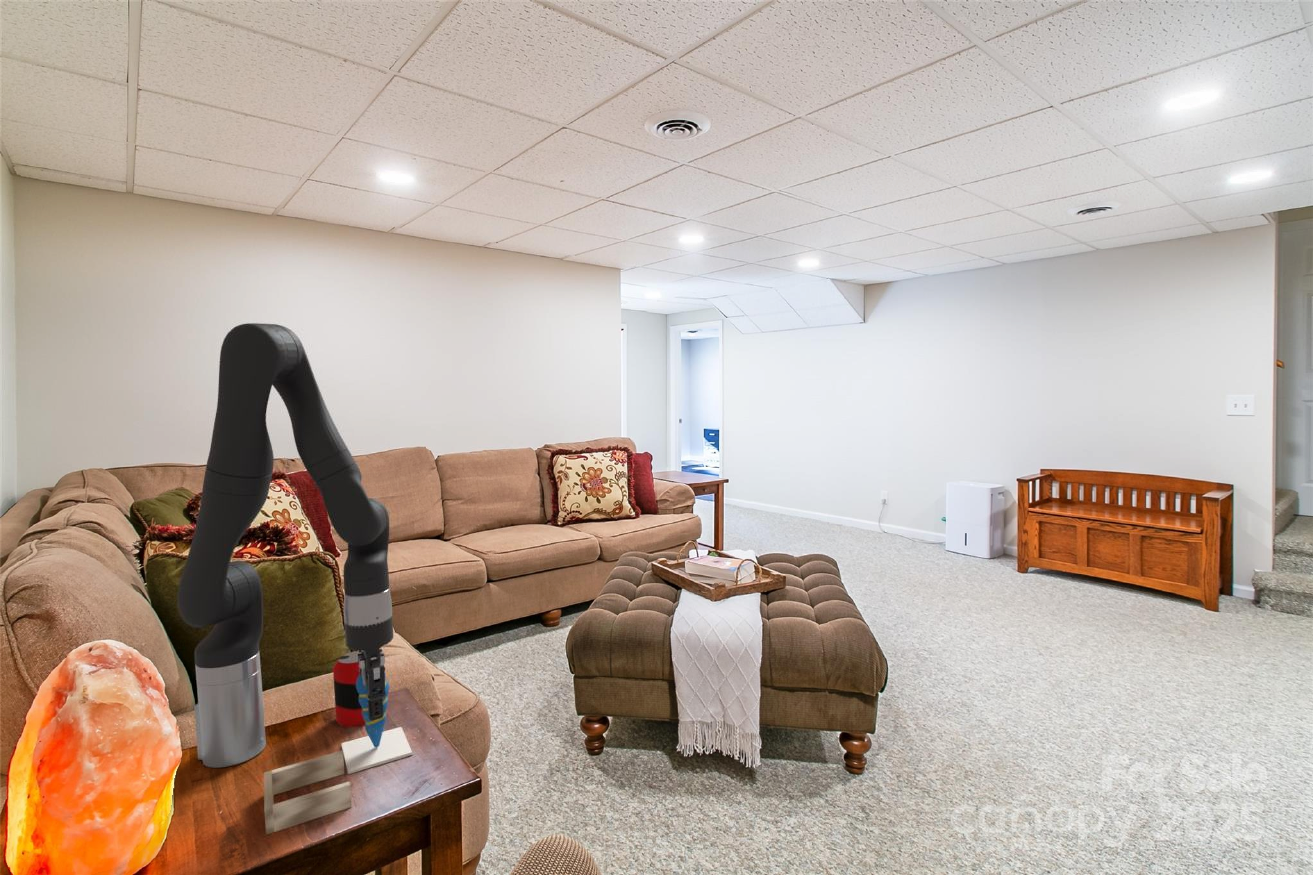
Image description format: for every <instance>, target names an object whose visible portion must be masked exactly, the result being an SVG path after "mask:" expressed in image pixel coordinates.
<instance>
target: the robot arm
mask: <svg viewBox="0 0 1313 875" xmlns="http://www.w3.org/2000/svg"><path fill="white" fill-rule="evenodd" d="M218 364H219V366H218V370H219V371H218V385H217V386H218V387H217V388H218V390H217V392H218V393H217V402H216V403H217V404H216V411H215V417H214V423H213V429H212V436H211V442H210V449H209V452H208V456H207V457H208V458H207V460H206V465H205V466H206V467H205V470H204V477H203V484H202V490H201V497H200V503H199V510H198V515H197V519H196V522H195V528H194V532H193V537H192V541H191V544H190V548H189V552H188V554H187V557H186V561H185V563H184V567H183V569H182V570H183V571H182V574H181V576H180V581H179V584H178V587H177V588H178V589H177V596H176V597H177V598H176V599H177V600H176V601H177V603H176V604H177V609H178V612H179V616H180V617H181V618H182V620H183V621H184V622H185V624H187V625H189V626H190V627H193V628H206V627H207V628H208V627H211V626H213V625H214V627H213V629H212V630H211V631H210V632H209V633H208V634H207V635H206V636H205V637H204V638H203V639H202V640H201V641H199V643H198V644H197V645H196V647H195V649H194V665H195V666H194V667H195V677H196V678H195V680H196V689H197V690H196V691H197V703H196V704H195V705H194V709H193V710H194V711H193V712H194V720H195V721H194V723H195V725H194V726H195V735H196V749H197V760H201V761H202V764H203V765H204V766H206V767H208V768H213V769H214V768H226V767H227V768H228V767H231V766H235V765H239V764H242V763H244V762H247V761H248V760H251V759H253V758H254V757H256V756H257V755H259V754H260V753H262V751H264V749H265V747H266V745H267V743H266V742H267V741H266V726H265V711H264V710H265V709H264V696H263V682H262V671H261V668H262V666H261V659H260V658H261V656H260V654H261V653H260V642H261V639H262V636H263V630H264V616H263V615H264V614H263V613H264V612H263V610H264V603H263V602H264V601H263V600H264V598H263V595H264V594H263V585H262V581H261V578H260V575H259V573H258V572H257V570H256V569H255V567H254V566H253V565H252V564H250V563H248V562H246V561H243V560H242V561H241V560H235V561H231V560H232V557H233V554H234V551H235V549H236V547H237V545H238V543H239V542H240V540H241V538H243V536H244V534H245V533H246V531H248V529H249V527H251V525H252V523H253V522H254V521H255V519H256V518H257V516H258V515H259V514H260V512H261V510H262V509H263V507H264V505H265V504H266V501H267V498H268V497H269V496H268V495H269V492H270V489H271V488H270V486H271V482H272V477H273V471H274V464H275V458H274V451H273V447H272V445H273V444H272V442H271V439H270V438H271V437H270V434H269V432H268V427H267V410H268V409H267V408H268V404H269V399H270V394H271V390H272V386H273V388H274V389H275V390H276V391H277V393H278V395H279V396H280V397H281V398H280V399H281V400H282V402H283V403H284V405H285V407H286V409H287V413H288V415H289V419H290V423H291V427H292V433H293V434H292V435H293V437H294V438H293V440H294V443H295V446H296V450H297V451H296V452H297V453H298V456H299V458H300V460H301V462H302V464H303V466H304V468H305V469H306V471H307V473H308V475H309V476H310V478H311V480H312V481H313V483H314V485H315V486H316V489H318V491H319V493H320V495H321V498H322V501H323V504H324V505H323V506H324V507H325V511H326V513H327V515H328V516H327V517H328V519H329V520H330V523H331V524H332V527H333V529H334V531H335V533H336V534H337V535H338V537H340V539H341V540H342V541H343V542H345V543H347V556H346V559H345V562H344V565H343V572H342V573H343V590H344V591H343V592H344V593H343V594H344V597H343V598H344V599H343V622H344V638H345V640H344V641H345V646H346V647H347V648H348V649H349V650H351V651H359V653H358V654H357V661H358V664H359V674H361V673H362V682H363V685H364V686H366V689H367V695H366V698H367V699H368V712H369V719H370V720H371V721H373V720H377V719H381V718H382V717H383V697H385V695H386V692H385V675H386V672H385V671H386V667H385V664H386V659H385V658H386V656H385V652H384V653H383V648H382V647H383V646H386V645H388V644H389V643H391V642H392V640H394V622H393V604H392V603H393V602H392V595H391V591H390V577H389V576H390V575H389V573H390V572H389V565H388V551H389V543H390V542H389V540H390V516H389V512H388V510H387V508H386V506H385V505H384V504H383V503H382V502H381V501H380V500H378V499H376V498H371V497H369V496H368V494H367V492H366V490H365V488H364V487H363V485H362V476H363V475H362V473H361V470H360V468H359V466H358V464H357V461H356V460H355V459H354V457H353V454H352V453H351V452H350V450H349V448H348V446H347V445H346V443H345V441H344V439H343V438H342V436H341V434H340V432H339V431H338V428H337V427H336V424H335V423H334V420H333V418H332V416H331V414H330V411H329V409H328V408H327V405H326V403H325V400H324V396H322V393H321V390H320V388H319V385H318V383H317V379H316V378H315V375H314V372H313V370H312V366H311V363H310V360H309V358H308V356H307V352H306V351H305V347H304V346H303V343H302V341H301V340H300V338H299V337H298V335H297V334H296V333H295V332H294V331H293V330H292V329H290V328H288V327H287V326H284V325H280V324H276V323H259V322H258V323H255V322H254V323H253V322H252V323H250V322H249V323H243V324H239V325H236V326H234V327H233V328H231V330H230V331H228V333H227V334H226V336H225V337H224V339H223V342H222V344H221V348H220V355H219V363H218ZM366 678H368V680H367V679H366ZM378 687H379V690H377V691H373V692H372V690H373V689H374V688H378Z"/></svg>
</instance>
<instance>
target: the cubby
mask: <svg viewBox="0 0 1313 875" xmlns="http://www.w3.org/2000/svg"><path fill="white" fill-rule="evenodd" d="M344 763H345V759H344V754H343V750H340V751H335V752H332V753H329V754H328V753H327V754H325V755H321V756H318V757H315V758H311V759H307V760H303V761H299V762H297V763H292V764H290V765H285V766H282V767H279V768H276V769H272V770H269V771H268V770H267V771H264V772H263V783H264V787H263V789H264V790H263V791H264V792H263V794H264V796H263V797H264V799H263V800H264V802H263V803H264V804H263V805H264V808H263V809H264V822H265V835H270V834H272V833H276V832H279V831H281V830H282V831H283V830H286V829H289V828H291V827H294V826H298V825H300V824H304V823H306V822H310V821H312V820H315V819H319V818H321V817H324V816H329V815H332V814H334V813H336V812H340V811H344V810H346V809H349V808H350V809H351V808H352V792H351V781H346V782H343V783H340V784H336V785H334V786H333V785H332V786H330V787H326V788H323V789H319V790H317V791H313V792H310V793H307V794H303V795H299V796H297V797H293V798H290V799H287V800H284V801H281V802H277V803H275V802H274V796H275V795H277V794H282V793H284V792H289V791H291V790H294V789H295V790H296V789H298V788H302V787H305V786H308V785H311V784H314V783H315V784H316V783H318V782H321V781H325V780H328V779H331V778H335V777H338V776H340V775H341V776H342V775H344V774H345V764H344Z"/></svg>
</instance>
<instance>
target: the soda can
mask: <svg viewBox="0 0 1313 875" xmlns="http://www.w3.org/2000/svg"><path fill="white" fill-rule="evenodd" d="M358 653H359V651H357V650H354V651H351V652H347V653H345V654H343V655H341V656H340V657H338V659H337V661H336V662H335V664H334V665H333V667H332V673H333V674H332V675H333V690H334V691H333V692H334V704H335V705H334V706H335V721H336V723H337V724H338V725H339V726H341V727H346V728H352V727H360V726H362V725H363V726H364V725H366V722H365V720H364V718H363V715H362V710H363V708H362V707H361V705H360V703H359V693H358V691H357V689H356V681H357V678H358V676H359V675H360V674H359V664H358V661H357V654H358Z"/></svg>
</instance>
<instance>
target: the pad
mask: <svg viewBox="0 0 1313 875" xmlns="http://www.w3.org/2000/svg"><path fill="white" fill-rule="evenodd" d="M341 749H342V750H341V751H343V759H344V763H345V766H346V771H347V775H350V774H354V773H356V772H360V771H363V770H366V769H367V770H368V769H370V768H373V767H377V766H380V765H384V764H386V763H390V762H393V761H396V760H400V759H403V758H407V757H410V756H413V751H412V748H411V746H410V744H409V741H408V739H407V736H406V734H405V732H404V729H403V727H402V726H399V727H395V728H391V729H389V730H385V731H384V730H383V733H382V736H381V740H380V745H379V747H374V745H373V743H372V741H371V739H370V738H369V736H368V735H366V736H363V737H360V738H356V739H352V740H348V741H345V742H341Z"/></svg>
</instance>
